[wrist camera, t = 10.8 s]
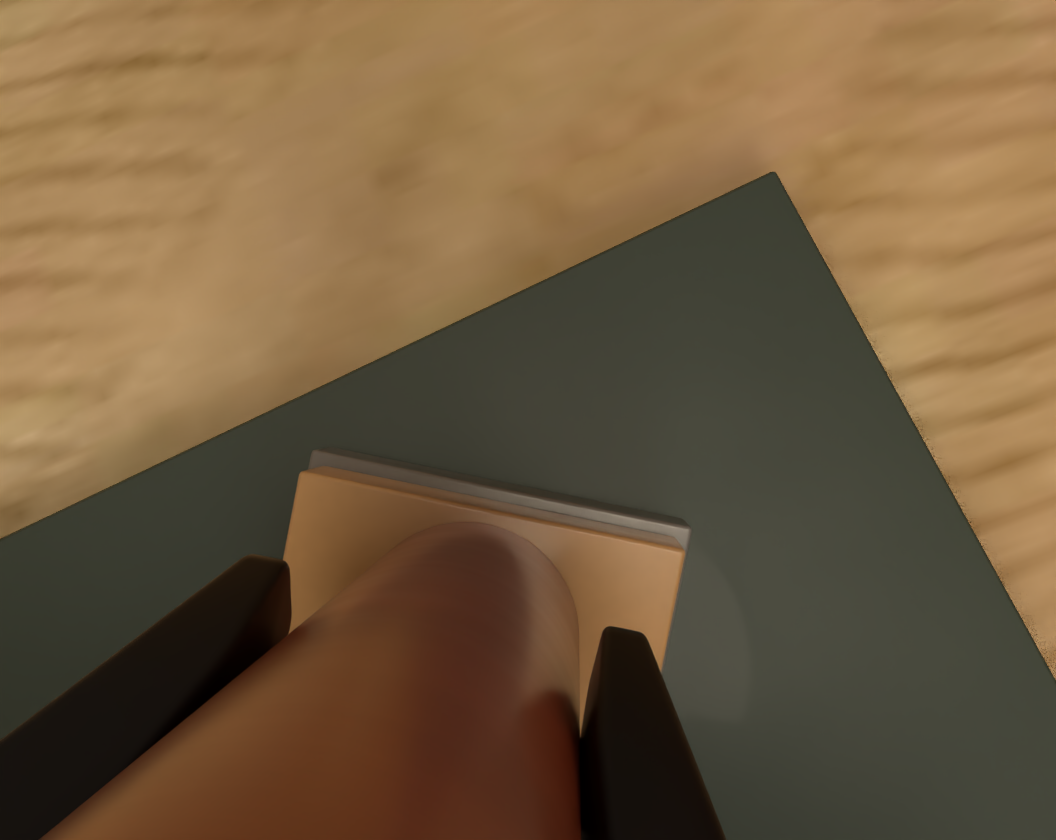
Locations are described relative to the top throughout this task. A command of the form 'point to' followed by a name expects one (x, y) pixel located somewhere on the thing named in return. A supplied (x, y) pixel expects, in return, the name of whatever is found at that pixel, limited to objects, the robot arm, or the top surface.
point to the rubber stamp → (411, 668)
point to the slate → (660, 487)
